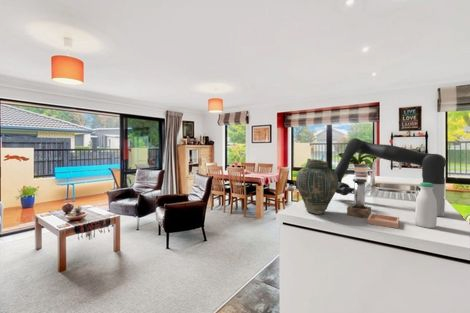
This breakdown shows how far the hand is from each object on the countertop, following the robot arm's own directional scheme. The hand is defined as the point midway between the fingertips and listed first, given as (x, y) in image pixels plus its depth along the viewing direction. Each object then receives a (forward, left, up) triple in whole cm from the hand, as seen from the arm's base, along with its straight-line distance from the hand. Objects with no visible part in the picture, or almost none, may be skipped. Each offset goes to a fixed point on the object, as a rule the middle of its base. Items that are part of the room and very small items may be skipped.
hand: (353, 192), depth 135 cm
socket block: (-4, +6, -10) cm, 13 cm away
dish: (-16, +15, -10) cm, 24 cm away
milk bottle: (-32, +8, -11) cm, 35 cm away
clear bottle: (-4, +6, -10) cm, 13 cm away
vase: (+16, +16, -11) cm, 25 cm away
